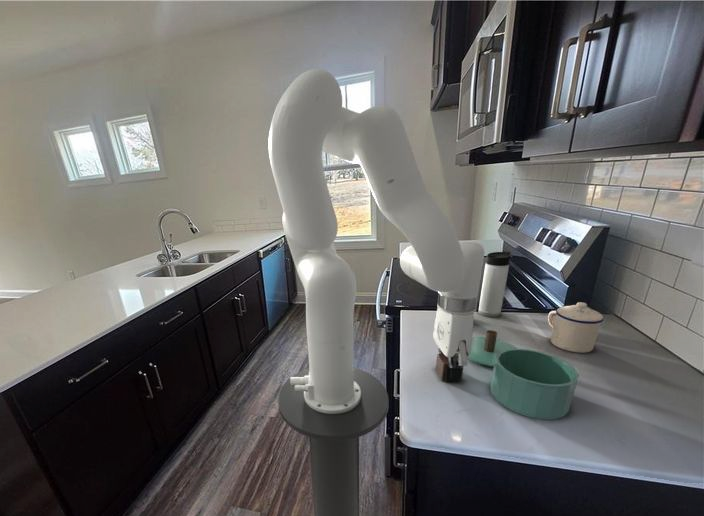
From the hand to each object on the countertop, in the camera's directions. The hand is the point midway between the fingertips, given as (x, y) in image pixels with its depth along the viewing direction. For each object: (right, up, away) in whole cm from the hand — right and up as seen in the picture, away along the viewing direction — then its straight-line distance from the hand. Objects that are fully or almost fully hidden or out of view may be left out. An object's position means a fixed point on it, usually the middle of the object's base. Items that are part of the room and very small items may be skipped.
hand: (448, 373), depth 73 cm
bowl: (+12, -3, -8) cm, 15 cm away
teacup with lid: (+36, +6, +10) cm, 38 cm away
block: (0, 0, 0) cm, 0 cm away
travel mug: (+27, +13, +30) cm, 42 cm away
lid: (+14, +4, +7) cm, 16 cm away
